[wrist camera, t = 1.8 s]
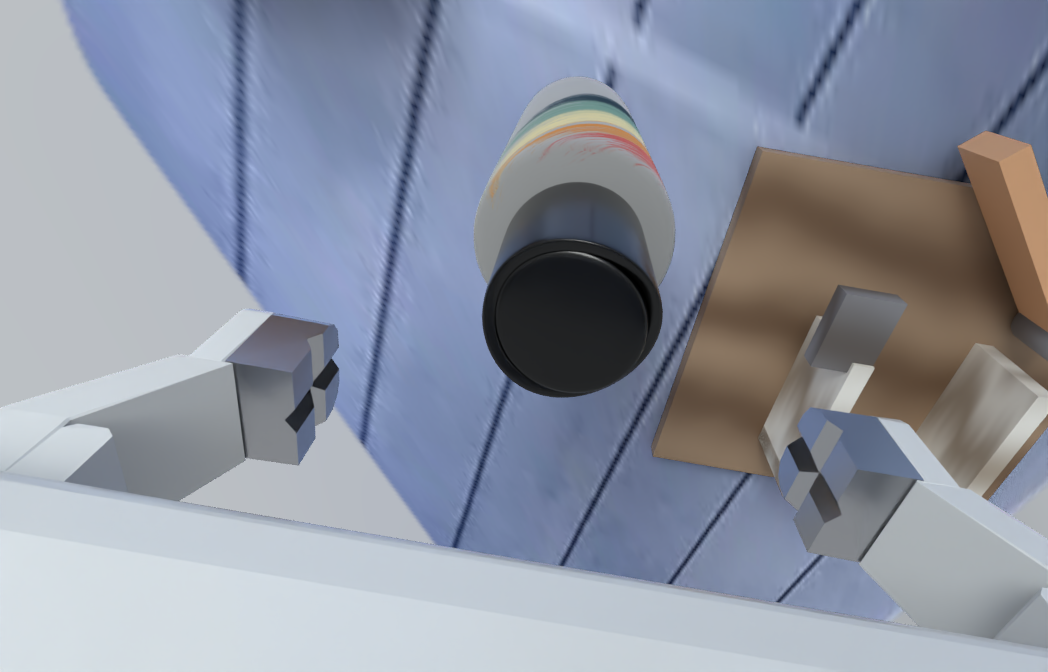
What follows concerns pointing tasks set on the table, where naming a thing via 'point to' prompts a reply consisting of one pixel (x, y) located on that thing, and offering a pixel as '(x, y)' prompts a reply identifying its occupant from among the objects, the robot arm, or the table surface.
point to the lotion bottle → (573, 243)
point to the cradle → (856, 324)
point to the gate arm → (1015, 225)
